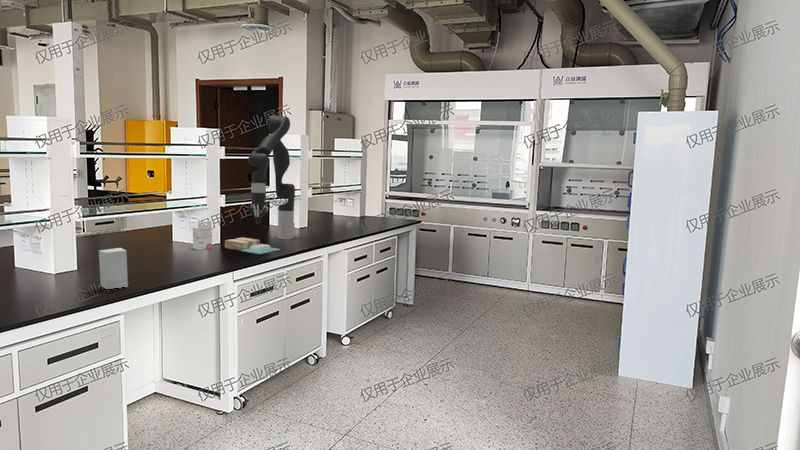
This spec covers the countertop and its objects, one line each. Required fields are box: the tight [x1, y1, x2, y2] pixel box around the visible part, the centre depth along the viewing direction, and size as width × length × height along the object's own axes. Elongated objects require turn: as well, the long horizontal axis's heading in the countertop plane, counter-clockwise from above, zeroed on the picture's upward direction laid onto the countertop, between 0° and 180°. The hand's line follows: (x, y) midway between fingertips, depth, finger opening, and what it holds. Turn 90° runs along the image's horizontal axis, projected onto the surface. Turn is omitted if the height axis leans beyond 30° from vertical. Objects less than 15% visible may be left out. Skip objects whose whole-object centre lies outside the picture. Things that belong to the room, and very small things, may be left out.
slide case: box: [250, 243, 271, 251], centre depth 297 cm, size 9×6×2 cm, turn 153°
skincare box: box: [98, 247, 129, 290], centre depth 211 cm, size 8×6×15 cm
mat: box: [240, 246, 281, 255], centre depth 297 cm, size 16×13×1 cm
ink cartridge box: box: [192, 220, 213, 251], centre depth 294 cm, size 9×5×15 cm, turn 143°
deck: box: [224, 236, 261, 251], centre depth 303 cm, size 14×12×4 cm
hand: (258, 223), depth 296 cm, fingers closed
